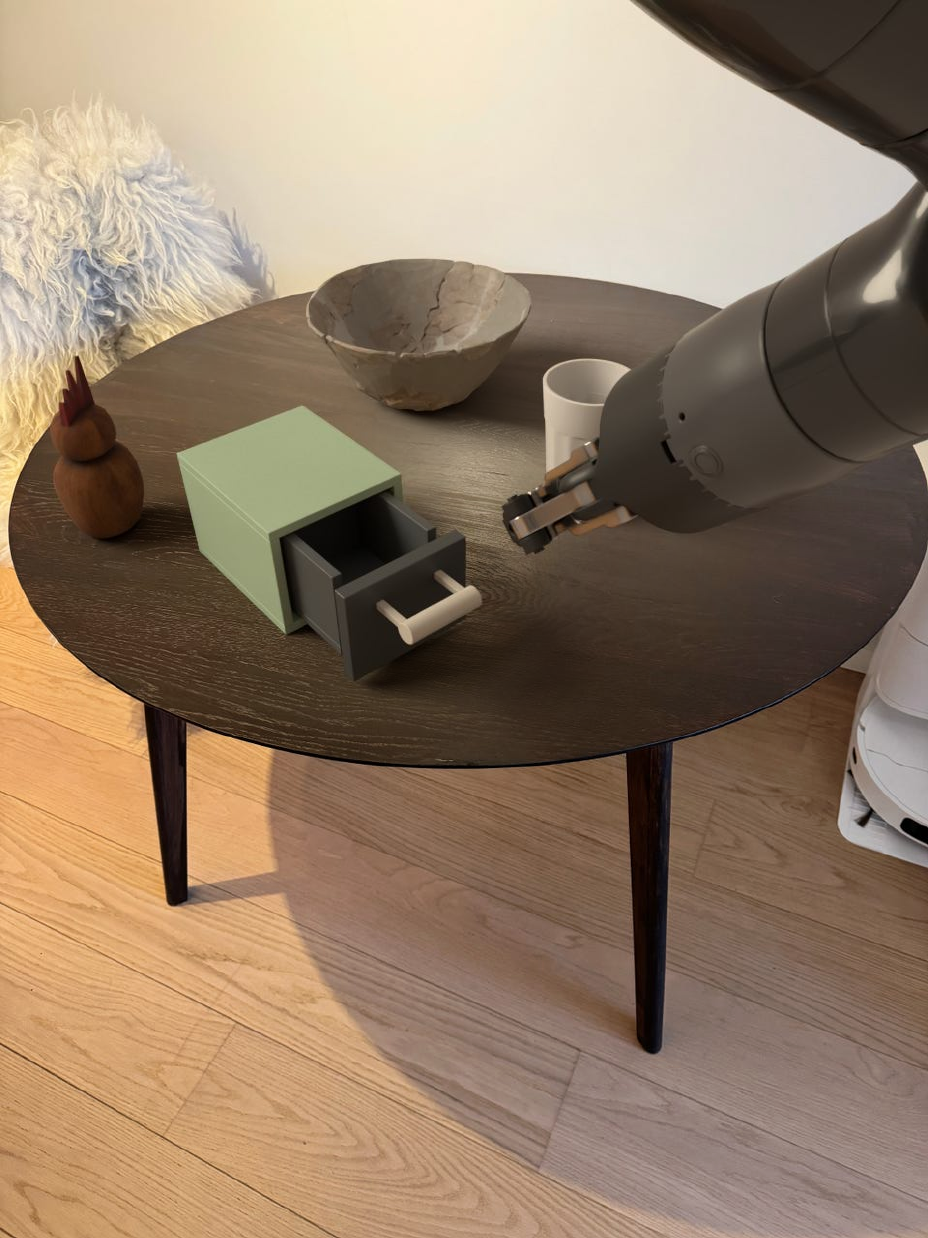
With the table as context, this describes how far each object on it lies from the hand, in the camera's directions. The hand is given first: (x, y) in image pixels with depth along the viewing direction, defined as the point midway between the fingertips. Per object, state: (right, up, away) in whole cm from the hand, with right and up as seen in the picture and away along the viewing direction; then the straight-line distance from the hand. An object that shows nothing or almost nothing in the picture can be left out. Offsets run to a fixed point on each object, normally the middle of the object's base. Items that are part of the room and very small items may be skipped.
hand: (518, 526), depth 51 cm
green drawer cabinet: (-16, 0, +27) cm, 31 cm away
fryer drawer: (-9, -5, +20) cm, 22 cm away
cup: (+7, +5, +33) cm, 34 cm away
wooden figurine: (-34, +3, +30) cm, 45 cm away
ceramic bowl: (-7, +19, +48) cm, 52 cm away
